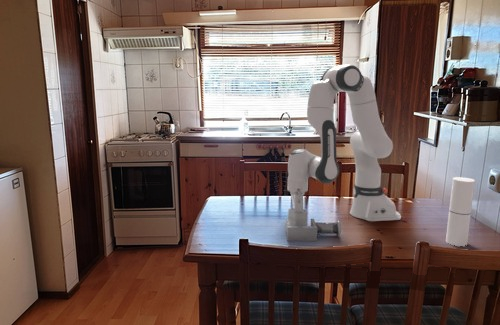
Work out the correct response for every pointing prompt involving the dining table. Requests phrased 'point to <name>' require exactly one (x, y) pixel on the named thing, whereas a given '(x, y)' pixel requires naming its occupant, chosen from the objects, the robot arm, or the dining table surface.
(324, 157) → the robot arm
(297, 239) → the grey compartment organizer
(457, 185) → the cylindrical container
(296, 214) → the skincare box
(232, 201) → the dining table surface
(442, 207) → the dining table surface
